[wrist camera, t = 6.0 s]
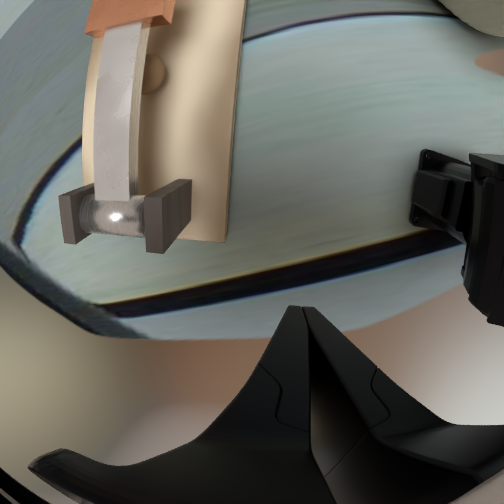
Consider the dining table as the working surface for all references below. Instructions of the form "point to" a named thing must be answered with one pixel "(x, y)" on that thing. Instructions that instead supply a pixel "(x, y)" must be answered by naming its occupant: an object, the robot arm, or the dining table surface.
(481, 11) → the canister
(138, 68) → the lever
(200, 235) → the base
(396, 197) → the dining table surface
